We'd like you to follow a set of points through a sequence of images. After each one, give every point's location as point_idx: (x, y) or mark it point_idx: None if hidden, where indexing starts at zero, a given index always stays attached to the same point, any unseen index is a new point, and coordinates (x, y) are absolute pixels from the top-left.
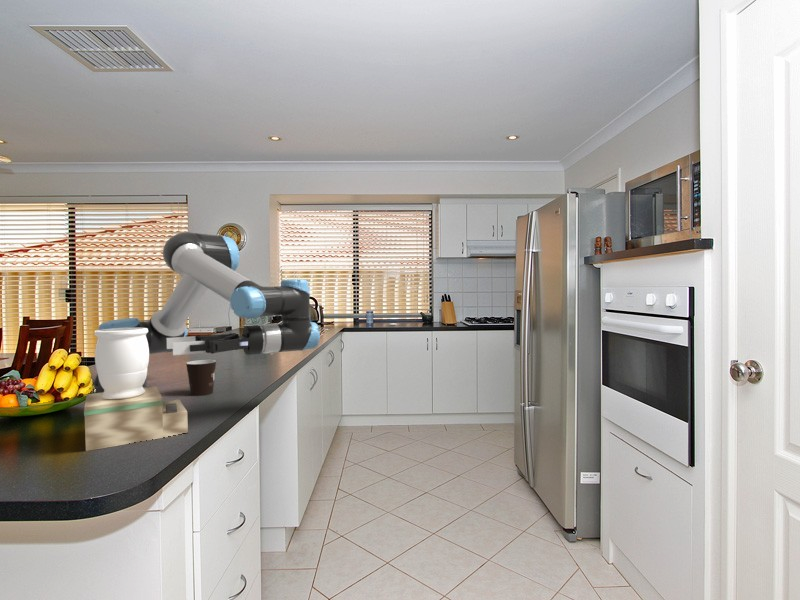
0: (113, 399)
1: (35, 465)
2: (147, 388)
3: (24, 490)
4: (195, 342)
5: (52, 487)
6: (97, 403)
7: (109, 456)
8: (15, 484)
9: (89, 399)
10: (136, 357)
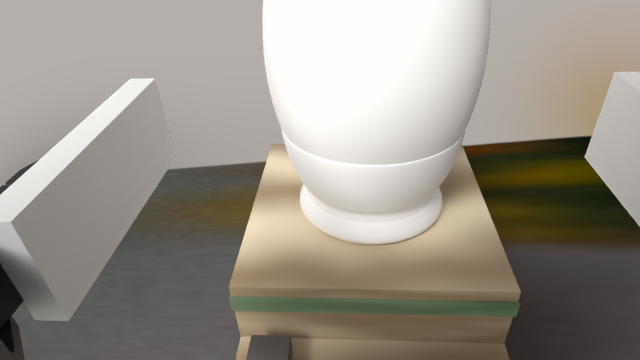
0: None
1: (259, 183)
2: (475, 261)
3: None
4: (38, 169)
5: None
6: None
7: (200, 266)
8: (181, 173)
9: None
10: (271, 78)
